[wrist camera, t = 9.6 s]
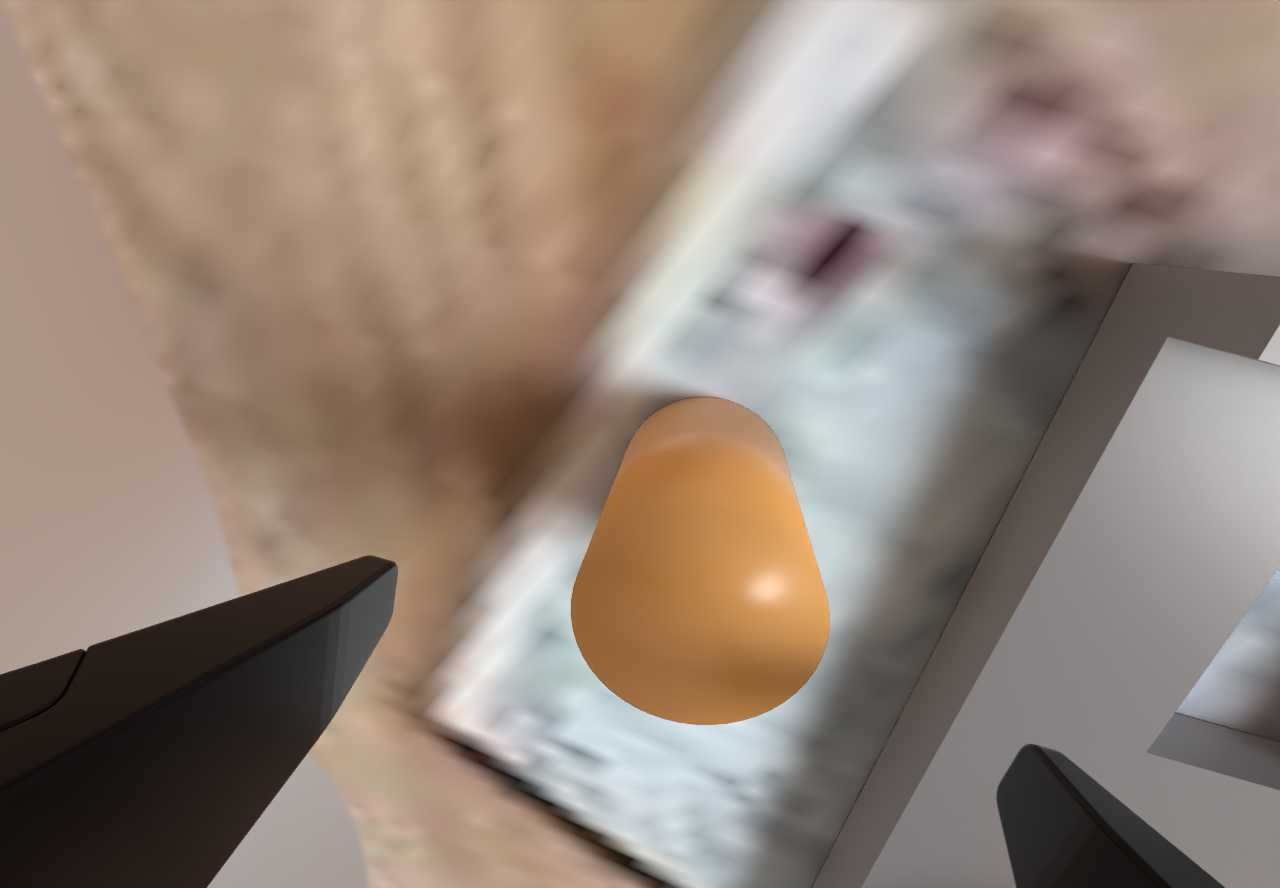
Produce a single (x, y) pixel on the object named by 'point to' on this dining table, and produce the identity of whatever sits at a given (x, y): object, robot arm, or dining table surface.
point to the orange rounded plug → (702, 571)
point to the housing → (1107, 606)
